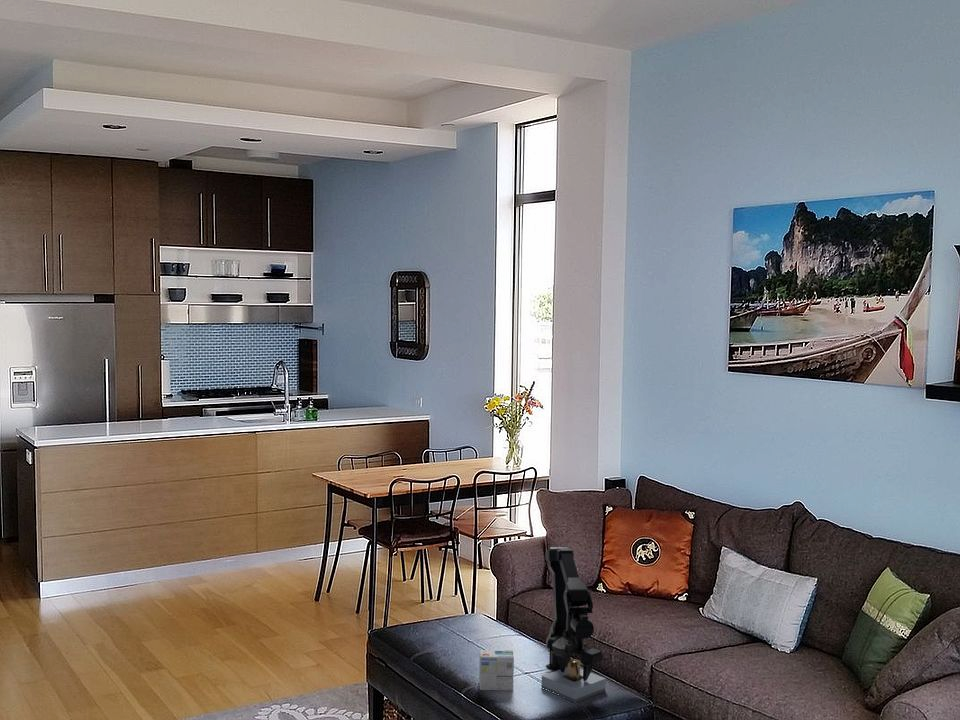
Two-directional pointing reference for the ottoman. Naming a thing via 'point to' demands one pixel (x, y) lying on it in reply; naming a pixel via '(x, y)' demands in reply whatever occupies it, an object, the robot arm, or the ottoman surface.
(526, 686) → the ottoman surface
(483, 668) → the light bulb box
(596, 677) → the bore block
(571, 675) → the peg
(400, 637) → the ottoman surface
